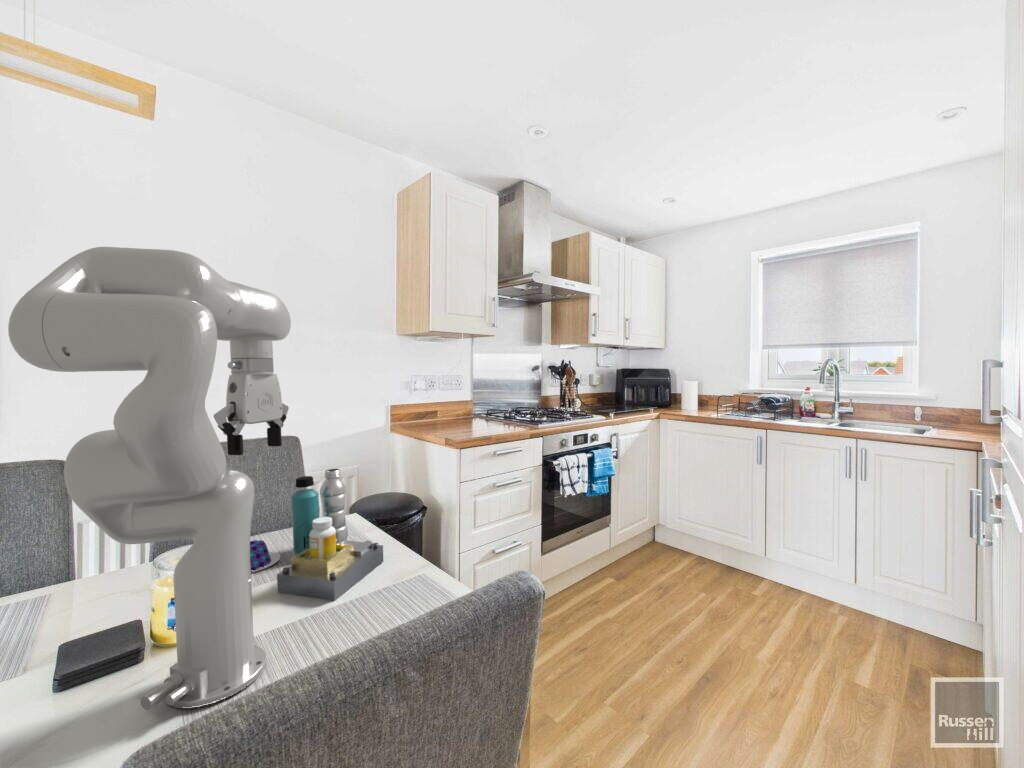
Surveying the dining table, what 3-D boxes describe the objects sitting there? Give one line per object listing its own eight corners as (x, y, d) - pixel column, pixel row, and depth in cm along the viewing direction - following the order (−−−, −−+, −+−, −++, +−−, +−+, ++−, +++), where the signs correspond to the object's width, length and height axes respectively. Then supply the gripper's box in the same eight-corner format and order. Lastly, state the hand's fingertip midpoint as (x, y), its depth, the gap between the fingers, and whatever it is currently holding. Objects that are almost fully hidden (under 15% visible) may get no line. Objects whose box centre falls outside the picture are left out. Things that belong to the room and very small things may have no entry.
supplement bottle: (307, 569, 92) (306, 525, 92) (312, 559, 97) (311, 517, 97) (334, 566, 93) (333, 522, 93) (338, 556, 98) (336, 514, 98)
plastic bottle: (353, 541, 117) (351, 468, 116) (331, 550, 111) (328, 474, 110) (338, 537, 120) (336, 466, 120) (316, 545, 115) (313, 471, 114)
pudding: (241, 555, 110) (240, 535, 110) (289, 553, 111) (288, 533, 110) (210, 578, 98) (209, 555, 98) (264, 576, 99) (263, 553, 98)
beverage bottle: (301, 563, 104) (298, 481, 103) (288, 557, 108) (285, 478, 107) (326, 554, 109) (323, 476, 108) (313, 548, 113) (310, 472, 112)
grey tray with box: (334, 600, 87) (333, 568, 86) (277, 592, 90) (276, 562, 90) (390, 556, 107) (389, 530, 107) (341, 551, 111) (340, 526, 110)
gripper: (229, 367, 79) (233, 459, 80) (298, 367, 96) (301, 443, 97) (198, 368, 81) (202, 458, 82) (271, 368, 98) (274, 442, 98)
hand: (256, 450), depth 89 cm, fingers open, 9 cm apart
